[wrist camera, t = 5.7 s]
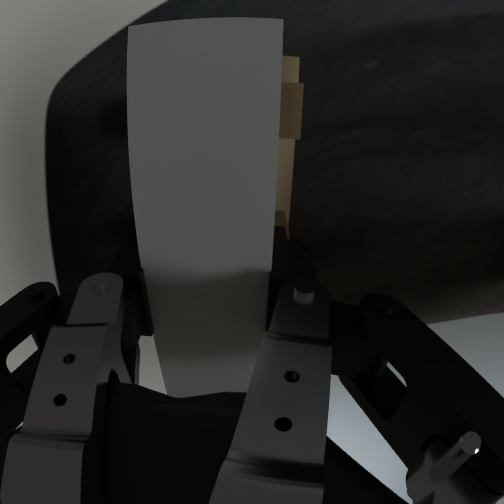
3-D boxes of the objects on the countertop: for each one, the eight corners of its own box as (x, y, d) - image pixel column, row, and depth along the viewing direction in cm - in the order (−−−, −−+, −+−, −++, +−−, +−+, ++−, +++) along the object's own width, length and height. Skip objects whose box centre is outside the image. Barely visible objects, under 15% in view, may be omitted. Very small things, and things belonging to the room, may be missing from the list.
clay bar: (271, 46, 9) (283, 19, 6) (256, 375, 16) (257, 440, 12) (169, 48, 9) (128, 26, 6) (189, 373, 16) (179, 436, 12)
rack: (297, 58, 19) (313, 48, 13) (283, 263, 26) (290, 310, 21) (179, 57, 19) (154, 47, 13) (185, 260, 26) (170, 305, 21)
